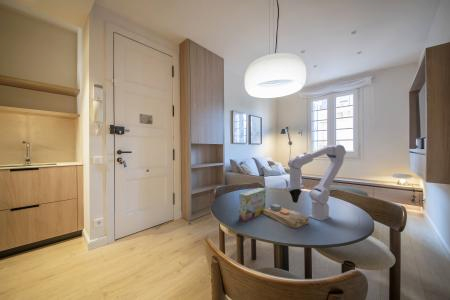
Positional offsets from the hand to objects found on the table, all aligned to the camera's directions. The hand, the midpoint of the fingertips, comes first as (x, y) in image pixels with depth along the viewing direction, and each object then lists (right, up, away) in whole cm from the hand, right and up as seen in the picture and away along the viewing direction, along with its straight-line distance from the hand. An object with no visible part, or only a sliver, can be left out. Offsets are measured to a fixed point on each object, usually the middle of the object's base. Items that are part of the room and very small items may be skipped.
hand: (295, 202), depth 101 cm
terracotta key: (-6, -9, 0) cm, 11 cm away
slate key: (-9, -8, +6) cm, 14 cm away
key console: (-6, -9, 0) cm, 11 cm away
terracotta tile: (0, -9, +7) cm, 12 cm away
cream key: (-2, -8, -6) cm, 10 cm away
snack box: (-24, -10, +5) cm, 26 cm away
